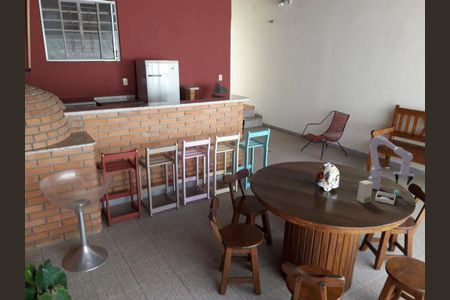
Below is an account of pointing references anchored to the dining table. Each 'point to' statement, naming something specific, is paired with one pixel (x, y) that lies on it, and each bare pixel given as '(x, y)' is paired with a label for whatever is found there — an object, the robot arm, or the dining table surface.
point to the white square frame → (386, 196)
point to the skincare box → (364, 191)
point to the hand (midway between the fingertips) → (401, 184)
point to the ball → (397, 192)
